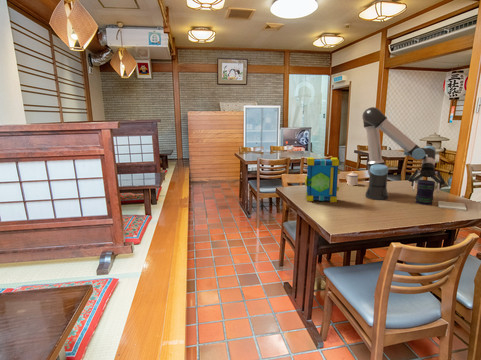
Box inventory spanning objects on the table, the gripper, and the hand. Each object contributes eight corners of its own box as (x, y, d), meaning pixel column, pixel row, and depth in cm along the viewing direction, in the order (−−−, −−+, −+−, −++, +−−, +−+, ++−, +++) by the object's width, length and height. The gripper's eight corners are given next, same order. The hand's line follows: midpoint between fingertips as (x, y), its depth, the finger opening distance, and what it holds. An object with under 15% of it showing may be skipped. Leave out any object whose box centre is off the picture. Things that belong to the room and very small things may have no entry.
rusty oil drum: (436, 205, 183) (439, 183, 180) (420, 205, 184) (423, 183, 181) (426, 201, 193) (429, 179, 190) (412, 201, 193) (414, 179, 190)
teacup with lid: (360, 185, 242) (361, 172, 240) (352, 186, 239) (353, 173, 236) (349, 182, 253) (350, 170, 251) (341, 183, 250) (342, 170, 247)
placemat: (438, 207, 178) (438, 206, 178) (437, 202, 190) (437, 200, 190) (466, 211, 171) (466, 209, 171) (463, 205, 182) (464, 203, 182)
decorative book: (304, 197, 207) (305, 156, 201) (337, 198, 202) (339, 157, 196) (304, 202, 193) (306, 159, 187) (339, 204, 189) (342, 159, 183)
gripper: (449, 170, 190) (447, 196, 181) (407, 167, 204) (403, 191, 194) (451, 163, 185) (449, 190, 176) (407, 161, 198) (404, 185, 189)
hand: (425, 191), depth 185 cm, fingers open, 13 cm apart
